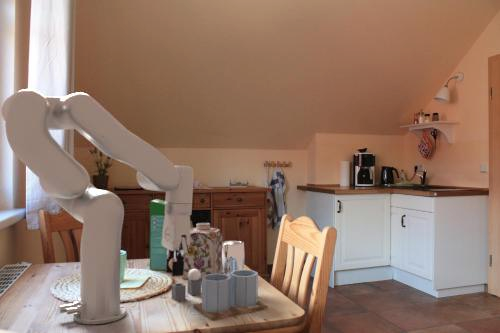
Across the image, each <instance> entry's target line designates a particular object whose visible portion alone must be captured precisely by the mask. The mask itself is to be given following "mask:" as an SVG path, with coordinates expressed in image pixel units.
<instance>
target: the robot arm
mask: <svg viewBox="0 0 500 333" xmlns="http://www.w3.org/2000/svg"><path fill="white" fill-rule="evenodd" d="M1 116H2V118H3V120H4V121H5V124H4V125H5V134H6V138H7V142H8V145H9V147H10V149H11V151H12V152H13V153H14V155H15V156H16V157H17V158H18V159H19V161H21V162H22V164H24V165H25V166H26V167H27V168H28V169H29V170H30V171H31V172H32V173H33V174H34V175H35V176H36V177H37V178H38V181H39V184H40V187H41V190H43V191H44V192H45V194H46V195H47V196H48V197H49V198H50V199H51V200H53V201H54V202H56V204H58V206H60V207H61V208H62V209H63V210H64V211H65V212H67V213H68V214H69V215H70V216H71V217H73V218H74V219H75V220H77V221H78V222H80V223H82V224H83V226H82V232H81V236H80V237H81V239H80V278H79V279H80V283H79V284H80V286H79V288H80V291H79V292H80V294H79V296H80V297H77V301H73V303H69V304H68V303H66V304H65V303H64V304H60V305H59V307H58V308H59V314H65V313H66V315H72V314H73V320H74V321H75V322H76V323H79V324H83V325H103V324H109V323H112V322H116V321H118V320H121V319H123V318H124V317H125V316H126V315H127V314H128V313H127V310H128V309H127V307H126V306H125V305H123V304H121V279H122V278H121V270H122V269H121V268H122V267H121V262H122V259H121V258H122V254H121V252H122V251H121V250H122V249H121V248H122V245H121V244H122V230H123V224H124V218H125V217H124V216H125V208H124V204H123V201H122V200H121V198H120V197H119V196H118V195H117V194H116V193H114V192H111V191H109V190H106V189H99V188H97V187H96V186H94V185H93V183H92V182H91V178H90V175H89V172H88V171H87V169H86V168H85V167H84V166H83V165H82V164H81V163H79V161H77V160H76V159H75V158H74V157H73V156H72V155H71V154H70V153H68V151H66V149H64V148H63V147H62V146H61V145H60V144H59V143H58V141H57V140H56V139H55V138H54V137H53V135H52V134H51V132H50V131H53V130H54V131H56V130H57V131H59V130H60V131H62V130H63V131H65V130H76V131H77V132H78V133H79V134H80V135H81V136H83V137H84V138H85V139H86V140H88V142H90V143H91V144H92V145H93V146H94V147H95V148H97V149H98V150H99V151H100V152H101V153H102V154H103V155H105V156H107V157H109V158H111V159H113V160H115V161H119V162H120V163H123V164H125V165H128V166H130V167H131V168H133V169H135V171H137V172H136V176H135V177H136V178H135V179H136V181H137V183H138V185H139V186H140V187H141V188H143V189H145V190H146V191H147V190H148V191H155V192H163V193H165V199H164V201H165V218H164V224H163V233H162V246H163V247H164V248H166V249H167V258H169V259H167V265H166V270H165V271H166V274H171V276H172V277H182V276H183V270H184V261H185V256H186V255H187V254H188V251H187V250H188V249H189V245H190V228H191V216H192V212H193V211H192V209H193V194H194V193H193V192H194V177H195V175H194V174H195V173H194V172H195V171H194V169H193V167H192V166H189V165H174V163H173V162H172V161H170V160H169V158H167V157H166V156H165V155H164V154H163V153H162V152H160V150H158V149H157V148H156V147H154V146H153V145H152V144H150V143H149V142H147V141H145V140H144V139H143V138H141V137H139V136H138V135H137V134H135V133H133V132H131V131H130V130H129V129H127V128H126V127H125V126H124V125H123V124H122V123H121V122H120V121H119V120H118V119H116V118H115V117H114V115H112V114H111V113H110V112H109V111H108V110H107V109H105V108H104V107H103V106H102V105H101V104H100V103H99V101H97V100H95V99H94V98H93V97H92V96H91V95H89V94H87V93H84V92H75V93H71V94H68V95H66V96H44V94H43V93H42V92H40V91H37V90H36V89H33V88H31V89H30V88H26V89H24V88H23V89H21V90H18V91H16V92H14V93H13V94H12V95H10V96H8V97H7V98H6V100H4V102H3V103H2V106H1ZM178 248H179V250H178ZM178 252H179V254H178V256H177V253H178ZM172 258H174V262H173V263H172V269H170V267H169V261H170V260H171V259H172Z"/></svg>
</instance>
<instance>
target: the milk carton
mask: <svg viewBox="0 0 500 333" xmlns="http://www.w3.org/2000/svg"><path fill="white" fill-rule="evenodd" d="M149 202H150V203H149V205H150V206H149V210H150V211H149V270H153V271H155V270H156V271H157V270H158V271H159V270H160V271H162V270H163V271H164V270H165V271H166V265H167V259H169V258H167V249H166V248H164V247H163V246H162V233H163V224H164V218H165V200H163V199H159V198H155V199H153V200H150V201H149ZM178 250H180V248H178ZM179 253H180V252H178V253H177V256H178V254H179Z"/></svg>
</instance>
